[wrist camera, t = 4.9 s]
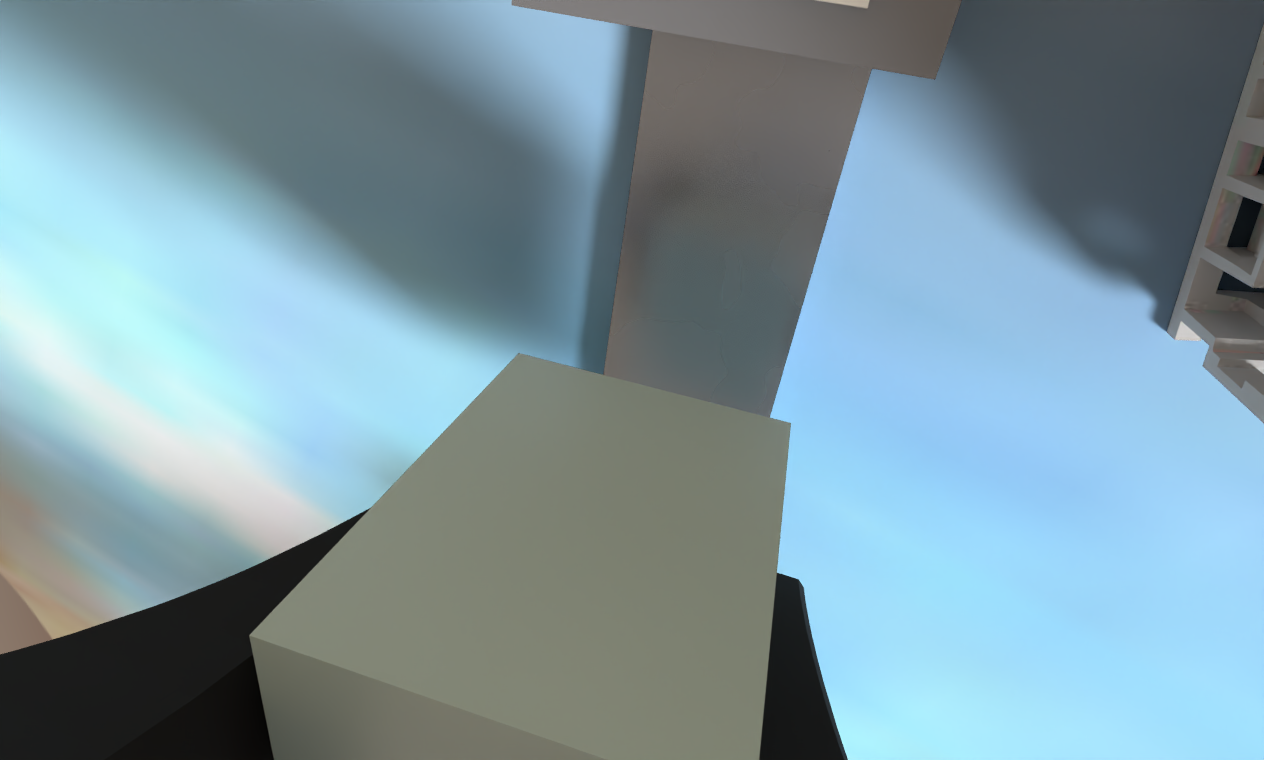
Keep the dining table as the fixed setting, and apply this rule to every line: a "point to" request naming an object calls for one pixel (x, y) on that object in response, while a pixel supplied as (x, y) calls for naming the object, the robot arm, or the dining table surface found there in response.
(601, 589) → the block
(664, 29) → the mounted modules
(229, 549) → the dining table surface
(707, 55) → the steel rail
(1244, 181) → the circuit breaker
